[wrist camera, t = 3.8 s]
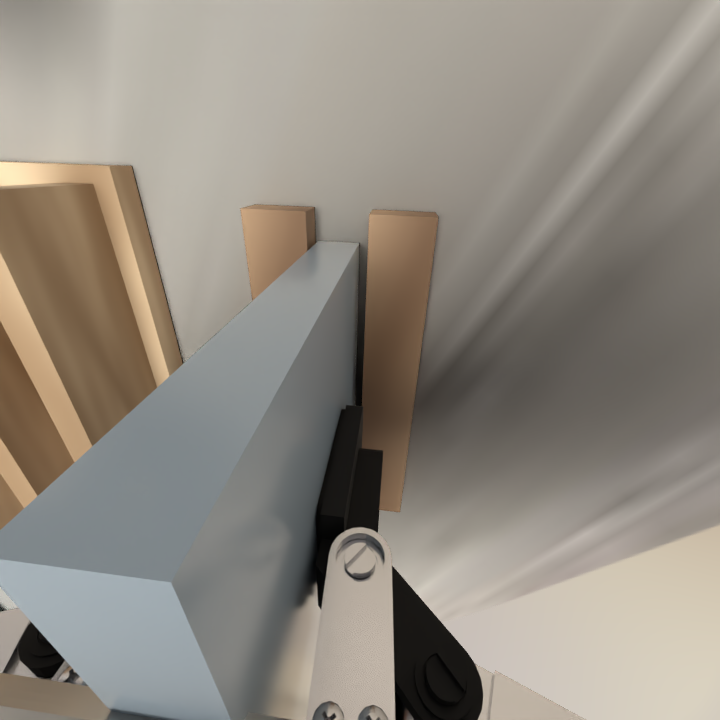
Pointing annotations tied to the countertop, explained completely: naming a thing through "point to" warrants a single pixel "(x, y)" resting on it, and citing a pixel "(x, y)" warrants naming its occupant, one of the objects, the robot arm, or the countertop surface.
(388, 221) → the wooden slats
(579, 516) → the countertop surface
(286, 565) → the plate
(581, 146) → the countertop surface
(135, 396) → the dish rack
